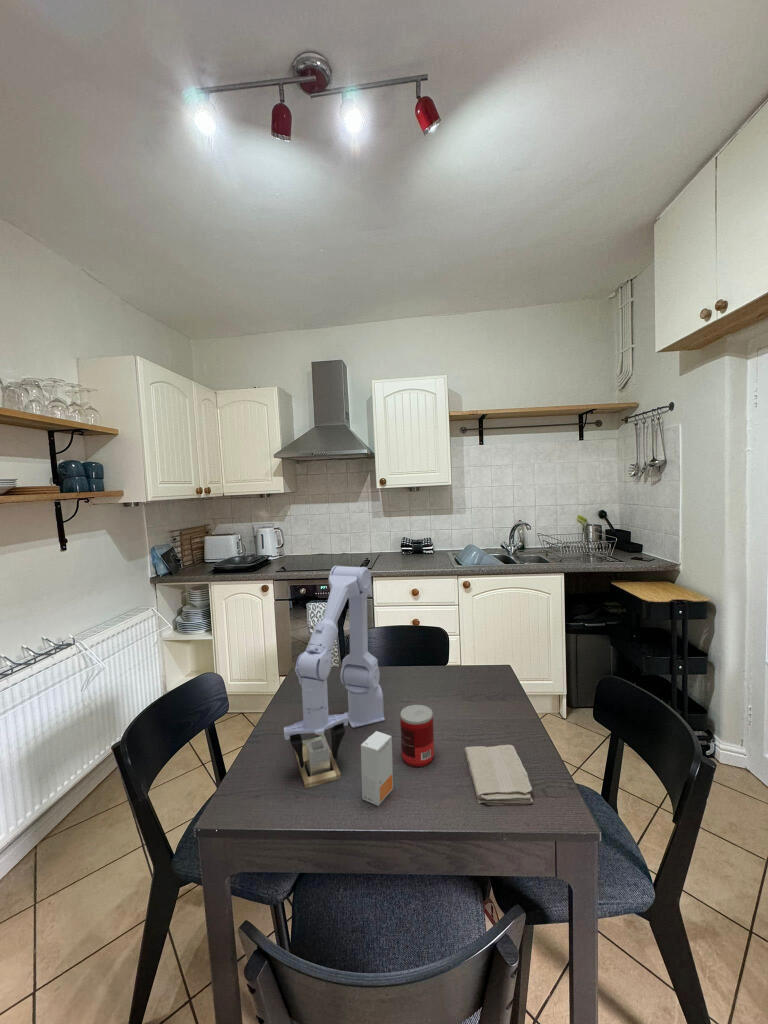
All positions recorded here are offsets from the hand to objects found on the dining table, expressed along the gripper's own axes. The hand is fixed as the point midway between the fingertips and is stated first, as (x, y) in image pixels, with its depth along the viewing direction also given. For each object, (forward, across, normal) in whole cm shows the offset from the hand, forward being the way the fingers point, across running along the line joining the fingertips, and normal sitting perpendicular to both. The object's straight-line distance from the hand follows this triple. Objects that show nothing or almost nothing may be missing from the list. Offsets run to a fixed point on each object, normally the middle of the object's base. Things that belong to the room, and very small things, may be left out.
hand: (318, 760), depth 101 cm
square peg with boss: (+2, 0, 0) cm, 2 cm away
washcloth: (+3, +36, -18) cm, 40 cm away
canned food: (+2, +23, -5) cm, 24 cm away
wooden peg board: (+2, 0, +7) cm, 7 cm away
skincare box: (+2, +10, -13) cm, 17 cm away
